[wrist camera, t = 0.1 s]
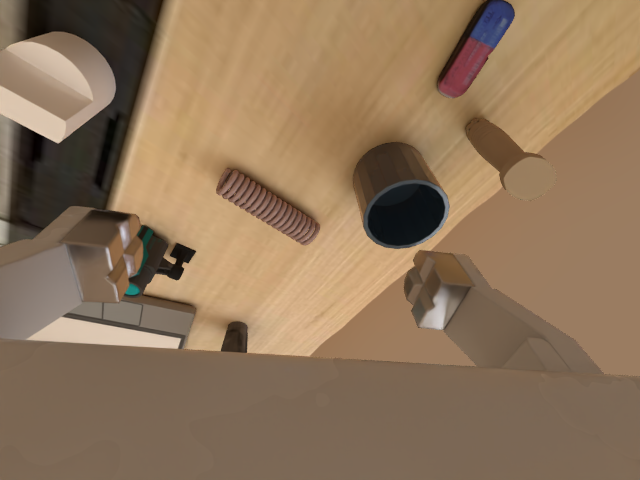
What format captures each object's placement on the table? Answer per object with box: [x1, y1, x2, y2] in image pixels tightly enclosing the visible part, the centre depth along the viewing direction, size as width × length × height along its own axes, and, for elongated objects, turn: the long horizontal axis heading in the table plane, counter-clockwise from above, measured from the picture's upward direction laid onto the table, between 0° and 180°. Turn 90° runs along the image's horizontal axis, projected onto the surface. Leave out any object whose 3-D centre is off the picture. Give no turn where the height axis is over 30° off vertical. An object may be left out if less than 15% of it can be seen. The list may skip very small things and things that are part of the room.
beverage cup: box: [221, 322, 248, 353], centre depth 70 cm, size 7×7×20 cm
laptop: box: [26, 295, 196, 349], centre depth 63 cm, size 35×26×28 cm
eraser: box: [438, 0, 515, 98], centre depth 41 cm, size 11×4×2 cm, turn 159°
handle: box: [466, 118, 556, 201], centre depth 42 cm, size 5×6×15 cm
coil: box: [216, 168, 320, 245], centre depth 53 cm, size 5×5×18 cm
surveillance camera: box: [124, 225, 196, 298], centre depth 55 cm, size 6×12×10 cm
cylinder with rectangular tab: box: [0, 32, 116, 143], centre depth 36 cm, size 9×9×12 cm
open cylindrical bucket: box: [353, 142, 449, 249], centre depth 49 cm, size 12×12×11 cm
